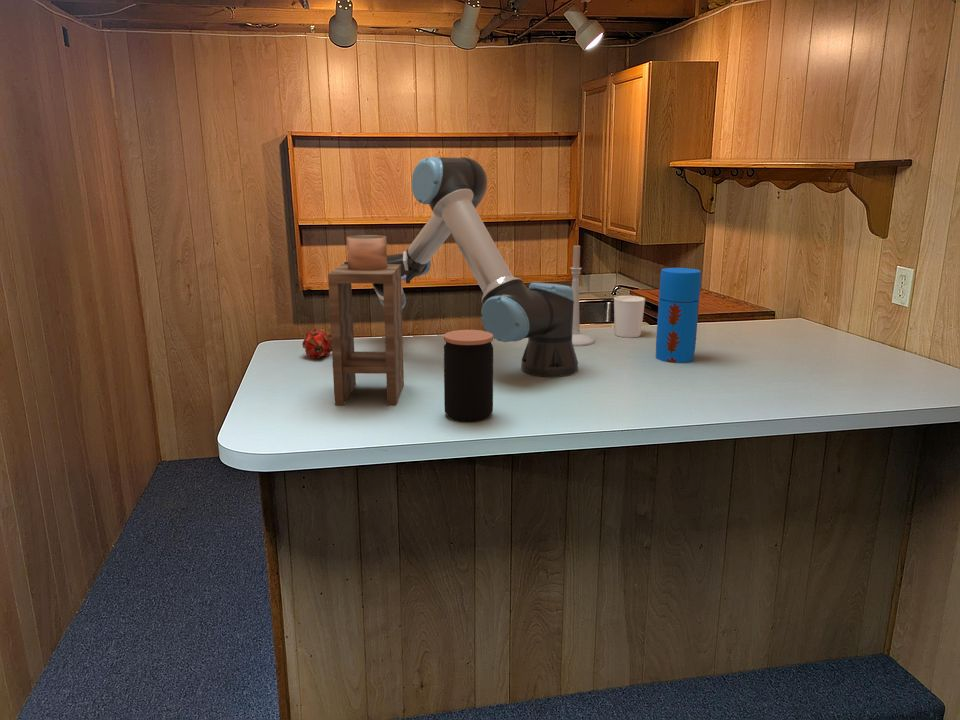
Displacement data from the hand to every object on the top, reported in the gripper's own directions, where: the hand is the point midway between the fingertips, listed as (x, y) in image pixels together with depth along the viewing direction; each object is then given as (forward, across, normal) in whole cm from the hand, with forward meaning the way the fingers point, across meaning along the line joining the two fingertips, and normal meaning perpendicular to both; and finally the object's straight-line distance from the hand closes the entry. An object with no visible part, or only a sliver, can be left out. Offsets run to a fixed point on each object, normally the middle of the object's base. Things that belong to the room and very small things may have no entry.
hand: (378, 255), depth 185 cm
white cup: (-51, -74, -5) cm, 90 cm away
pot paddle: (+9, 0, -6) cm, 10 cm away
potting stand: (+3, 0, -37) cm, 37 cm away
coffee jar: (+16, -24, -44) cm, 53 cm away
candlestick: (-44, -55, -10) cm, 71 cm away
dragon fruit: (-27, +20, -20) cm, 39 cm away
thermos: (-26, -82, -20) cm, 88 cm away
